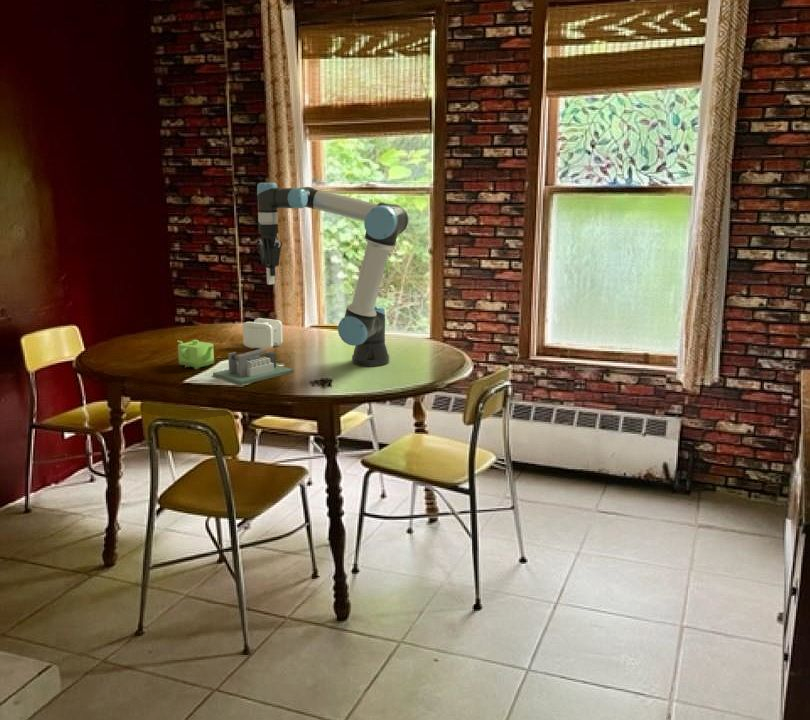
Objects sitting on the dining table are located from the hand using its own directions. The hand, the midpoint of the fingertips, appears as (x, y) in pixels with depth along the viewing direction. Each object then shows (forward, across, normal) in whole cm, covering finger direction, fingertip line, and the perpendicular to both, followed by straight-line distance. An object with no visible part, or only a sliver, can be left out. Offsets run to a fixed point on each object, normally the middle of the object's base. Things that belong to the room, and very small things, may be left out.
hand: (270, 283), depth 310 cm
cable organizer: (+32, +24, -14) cm, 43 cm away
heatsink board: (+32, -9, +18) cm, 37 cm away
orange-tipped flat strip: (+25, -9, +17) cm, 31 cm away
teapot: (+32, +18, +25) cm, 44 cm away
